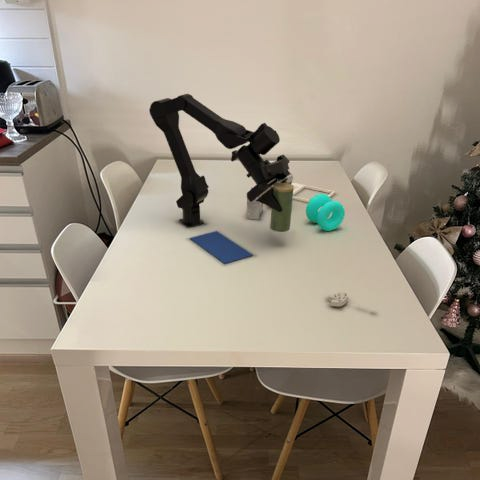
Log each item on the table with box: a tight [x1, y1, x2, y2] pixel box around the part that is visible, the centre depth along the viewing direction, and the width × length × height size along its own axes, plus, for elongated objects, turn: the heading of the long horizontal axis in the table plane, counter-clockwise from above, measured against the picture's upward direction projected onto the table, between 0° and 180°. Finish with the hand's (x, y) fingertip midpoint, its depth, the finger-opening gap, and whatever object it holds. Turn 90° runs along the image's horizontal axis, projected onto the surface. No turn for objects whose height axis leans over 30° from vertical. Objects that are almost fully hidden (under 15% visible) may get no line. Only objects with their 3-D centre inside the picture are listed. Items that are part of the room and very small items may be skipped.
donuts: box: [305, 193, 346, 232], centre depth 162 cm, size 10×10×10 cm
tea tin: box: [269, 183, 294, 233], centre depth 146 cm, size 6×6×13 cm
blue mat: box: [189, 230, 254, 265], centre depth 150 cm, size 20×10×1 cm, turn 35°
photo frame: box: [291, 182, 336, 203], centre depth 189 cm, size 15×1×18 cm
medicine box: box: [246, 187, 264, 221], centre depth 169 cm, size 8×4×9 cm, turn 168°
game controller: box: [328, 291, 373, 312], centre depth 124 cm, size 6×12×3 cm, turn 77°
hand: (285, 208), depth 145 cm, fingers closed on tea tin, 6 cm apart
